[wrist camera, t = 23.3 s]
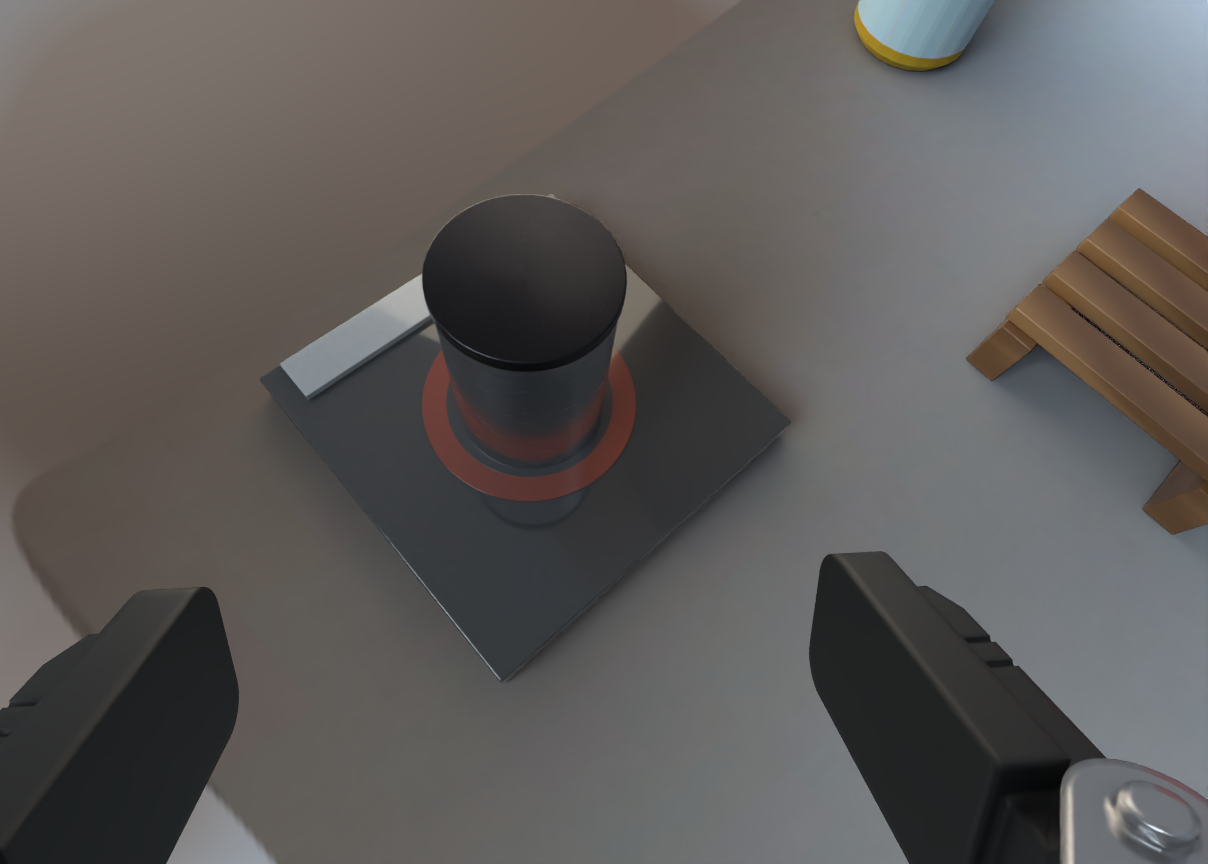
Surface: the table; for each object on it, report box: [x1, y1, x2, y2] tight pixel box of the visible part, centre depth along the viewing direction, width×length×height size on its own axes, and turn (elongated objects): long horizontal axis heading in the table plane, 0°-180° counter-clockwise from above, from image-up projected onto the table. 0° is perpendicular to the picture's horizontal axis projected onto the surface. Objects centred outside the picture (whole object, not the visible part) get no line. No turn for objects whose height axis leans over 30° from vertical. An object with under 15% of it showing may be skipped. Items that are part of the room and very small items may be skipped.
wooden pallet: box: [966, 188, 1208, 535], centre depth 33 cm, size 12×12×4 cm
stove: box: [260, 194, 791, 684], centre depth 30 cm, size 16×16×2 cm
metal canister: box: [422, 194, 627, 468], centre depth 25 cm, size 6×6×9 cm
